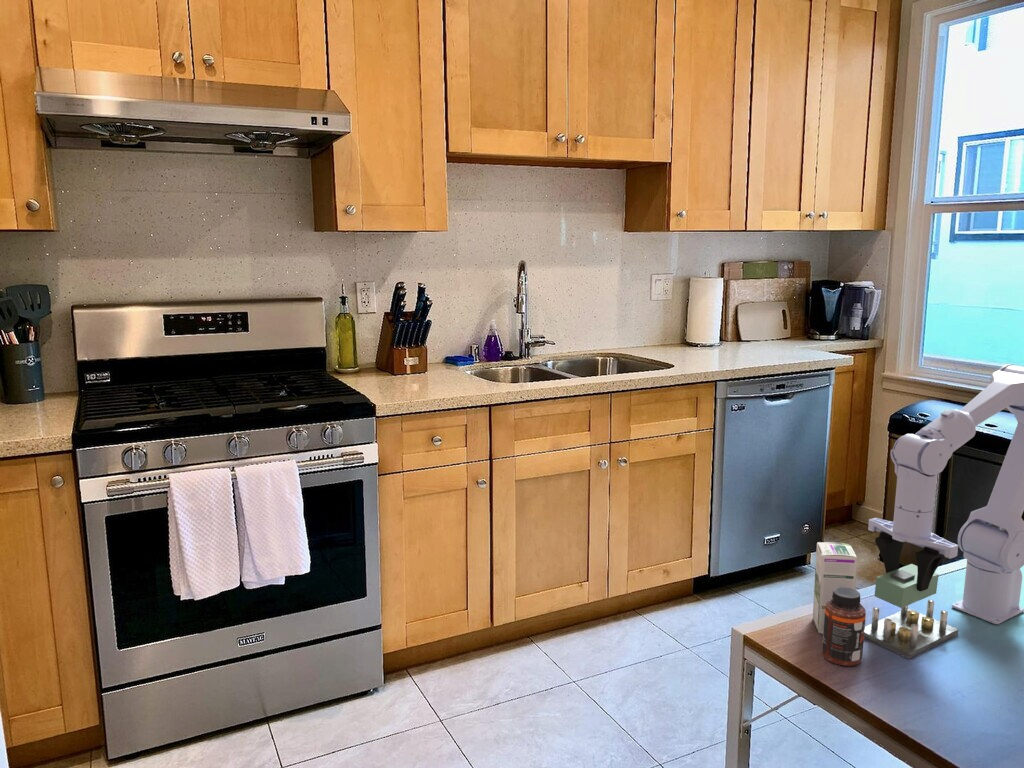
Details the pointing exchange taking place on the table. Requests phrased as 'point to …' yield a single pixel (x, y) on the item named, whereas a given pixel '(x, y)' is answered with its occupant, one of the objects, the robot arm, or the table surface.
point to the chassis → (909, 630)
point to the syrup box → (831, 575)
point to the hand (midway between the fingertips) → (906, 583)
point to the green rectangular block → (903, 586)
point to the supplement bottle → (844, 627)
